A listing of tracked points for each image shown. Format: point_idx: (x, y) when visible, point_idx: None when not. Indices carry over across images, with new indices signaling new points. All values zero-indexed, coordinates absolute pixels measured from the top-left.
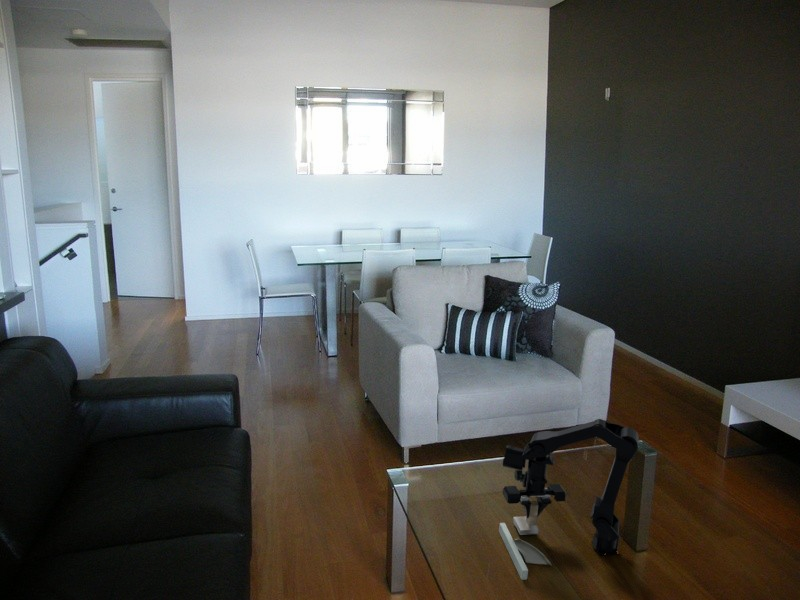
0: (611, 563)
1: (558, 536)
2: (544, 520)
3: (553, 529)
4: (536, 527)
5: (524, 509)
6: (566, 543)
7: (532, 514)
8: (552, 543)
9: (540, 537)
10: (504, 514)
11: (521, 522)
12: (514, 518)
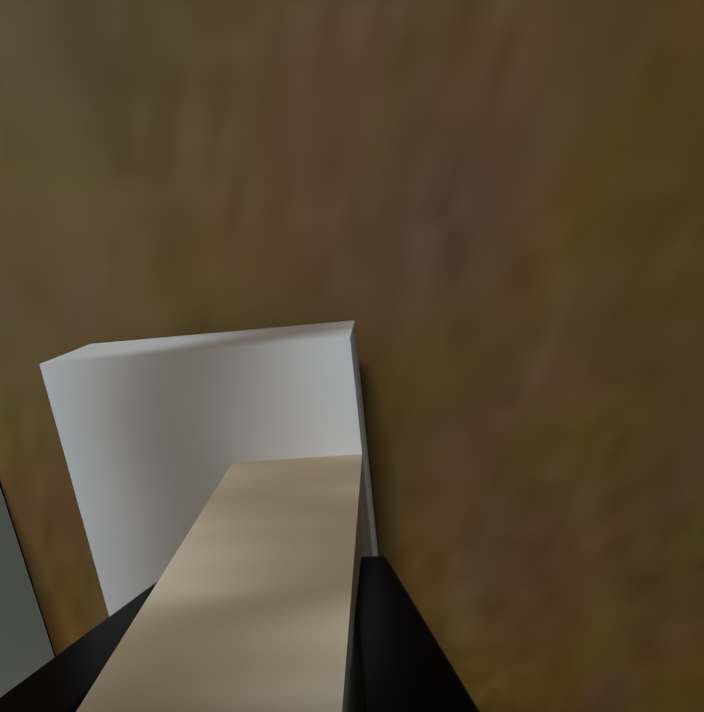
0: None
1: (639, 570)
2: (589, 243)
3: (636, 444)
4: None
5: (24, 700)
6: (677, 677)
7: None
8: (515, 672)
9: (411, 582)
10: (8, 100)
11: (156, 504)
12: (52, 409)
